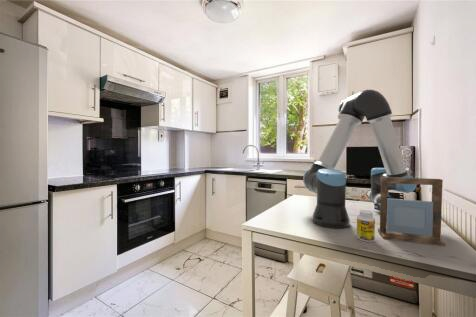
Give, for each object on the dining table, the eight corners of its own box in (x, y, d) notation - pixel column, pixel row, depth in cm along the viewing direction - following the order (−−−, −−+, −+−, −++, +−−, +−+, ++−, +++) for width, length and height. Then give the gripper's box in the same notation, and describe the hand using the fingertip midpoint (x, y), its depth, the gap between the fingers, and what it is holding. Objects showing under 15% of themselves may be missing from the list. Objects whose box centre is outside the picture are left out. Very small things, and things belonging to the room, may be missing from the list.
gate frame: (382, 238, 78) (384, 178, 77) (377, 230, 85) (378, 175, 84) (445, 246, 71) (447, 180, 70) (433, 237, 79) (435, 177, 78)
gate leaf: (387, 230, 80) (388, 199, 79) (386, 229, 81) (387, 198, 81) (432, 236, 74) (433, 202, 74) (430, 235, 76) (431, 201, 75)
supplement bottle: (358, 241, 75) (359, 213, 75) (355, 235, 81) (355, 208, 80) (376, 243, 74) (377, 214, 73) (371, 237, 79) (372, 210, 78)
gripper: (402, 211, 99) (428, 230, 76) (369, 209, 103) (384, 227, 81) (402, 195, 98) (428, 210, 76) (369, 194, 103) (384, 207, 81)
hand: (405, 218), depth 79 cm, fingers closed
